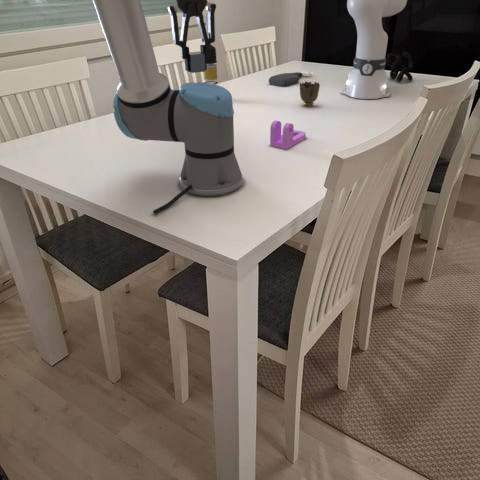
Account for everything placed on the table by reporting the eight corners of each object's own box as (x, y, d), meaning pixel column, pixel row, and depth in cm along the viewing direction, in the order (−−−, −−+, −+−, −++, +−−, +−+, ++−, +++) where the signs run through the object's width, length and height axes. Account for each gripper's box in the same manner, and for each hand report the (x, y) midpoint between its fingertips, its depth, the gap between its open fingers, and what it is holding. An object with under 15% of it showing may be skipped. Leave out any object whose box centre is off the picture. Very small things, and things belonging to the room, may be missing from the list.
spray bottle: (266, 83, 198) (296, 74, 214) (286, 87, 192) (316, 77, 208) (266, 76, 197) (297, 68, 213) (287, 80, 191) (316, 71, 207)
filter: (220, 99, 177) (217, 15, 161) (206, 100, 176) (202, 16, 160) (215, 96, 182) (212, 14, 166) (202, 97, 180) (197, 14, 164)
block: (200, 68, 133) (199, 51, 131) (205, 71, 130) (204, 53, 127) (187, 70, 132) (185, 52, 129) (191, 72, 128) (190, 55, 126)
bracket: (286, 149, 129) (287, 125, 125) (270, 145, 132) (270, 122, 128) (308, 136, 138) (309, 114, 134) (292, 133, 141) (294, 111, 137)
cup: (295, 106, 166) (296, 84, 162) (302, 102, 172) (303, 80, 168) (314, 109, 163) (316, 86, 159) (321, 104, 169) (322, 82, 165)
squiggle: (400, 92, 202) (376, 71, 205) (417, 76, 202) (392, 56, 205) (405, 81, 191) (380, 59, 194) (423, 64, 191) (397, 42, 194)
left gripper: (215, -24, 124) (219, 65, 136) (154, -22, 118) (164, 70, 131) (225, -23, 118) (228, 69, 130) (161, -21, 113) (170, 75, 125)
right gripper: (533, -54, 136) (519, -3, 143) (484, -54, 129) (472, 0, 136) (553, -55, 131) (537, -2, 138) (503, -55, 124) (489, 1, 131)
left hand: (196, 69), depth 131 cm, fingers closed on block, 4 cm apart
